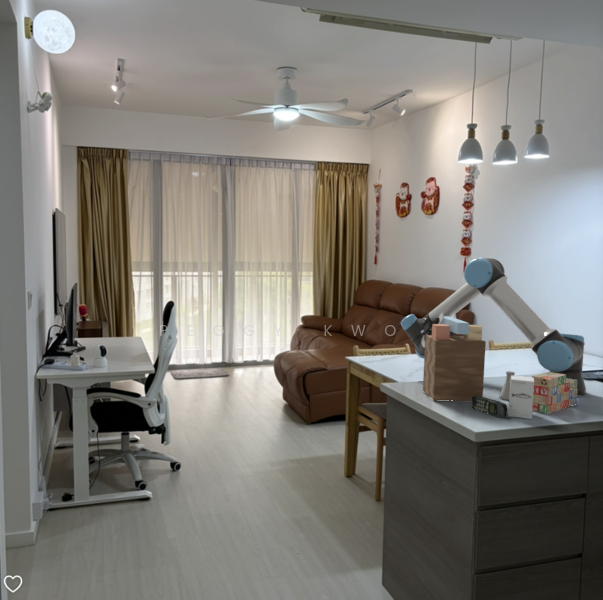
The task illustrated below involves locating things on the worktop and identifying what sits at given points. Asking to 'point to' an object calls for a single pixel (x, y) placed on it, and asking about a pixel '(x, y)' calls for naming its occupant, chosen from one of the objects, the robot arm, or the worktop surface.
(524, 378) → the supplement box
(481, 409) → the mobile phone
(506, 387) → the flask
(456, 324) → the blue bar
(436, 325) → the brick cube
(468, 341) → the walnut stand
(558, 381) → the stack of blocks
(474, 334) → the oak cube
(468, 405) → the worktop surface
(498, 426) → the worktop surface
